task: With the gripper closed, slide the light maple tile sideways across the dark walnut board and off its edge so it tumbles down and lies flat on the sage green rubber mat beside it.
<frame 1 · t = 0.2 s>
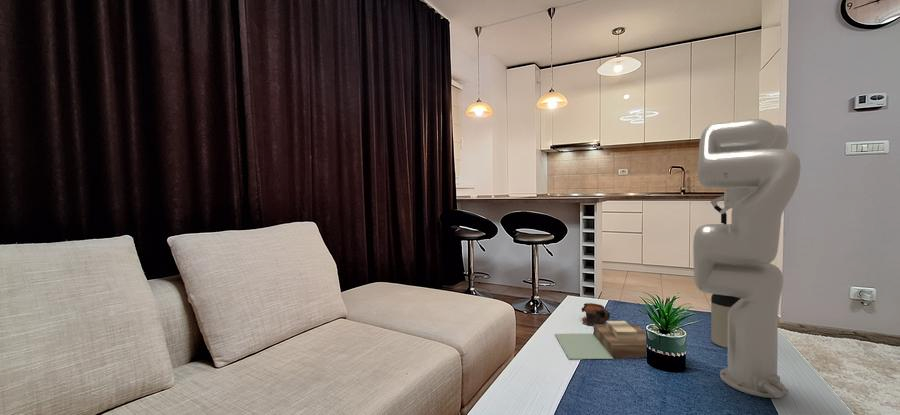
hand: (744, 226, 112), 37 cm above the table, tool pointing down, fingers open, 9 cm apart
walnut board: (624, 345, 112), on the table
beige canister: (727, 344, 111), on the table
rubber mat: (581, 346, 113), on the table
maple tile: (621, 333, 112), point 4 cm above the table, touching walnut board
pottery mug: (595, 323, 132), on the table
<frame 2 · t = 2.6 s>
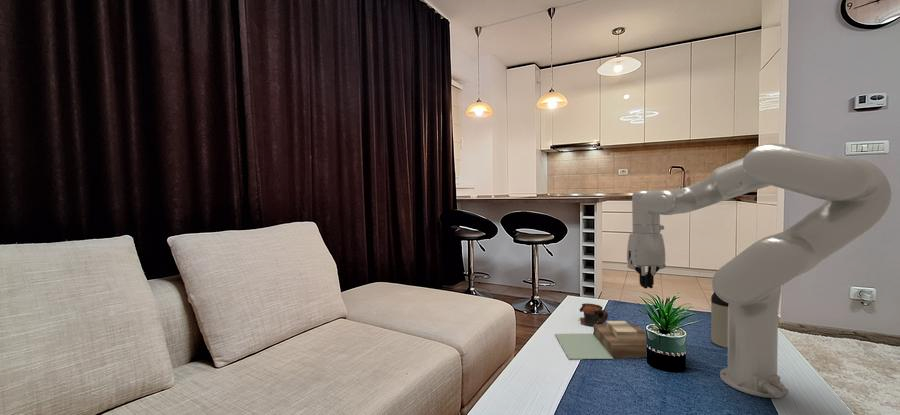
hand: (646, 286, 110), 19 cm above the table, tool pointing down, fingers closed
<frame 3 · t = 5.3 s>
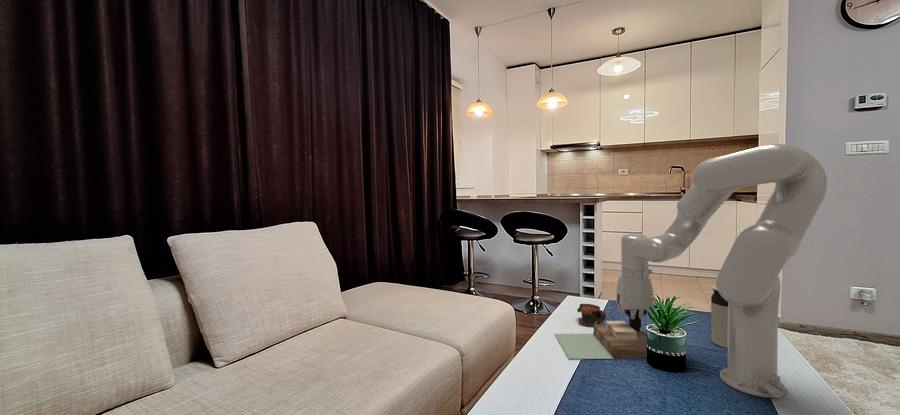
hand: (635, 329, 111), 5 cm above the table, tool pointing down, fingers closed
maple tile: (620, 333, 112), point 4 cm above the table, touching gripper, walnut board
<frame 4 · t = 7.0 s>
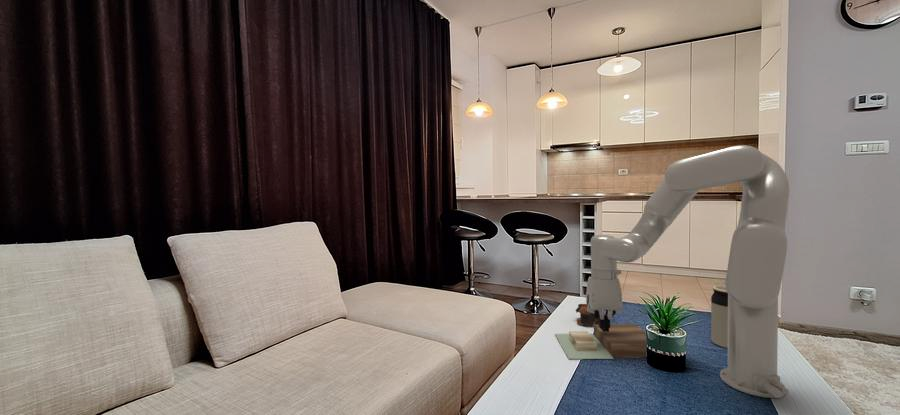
hand: (604, 330, 112), 5 cm above the table, tool pointing down, fingers closed
maple tile: (582, 337, 113), point 3 cm above the table, tilted 180°, touching rubber mat
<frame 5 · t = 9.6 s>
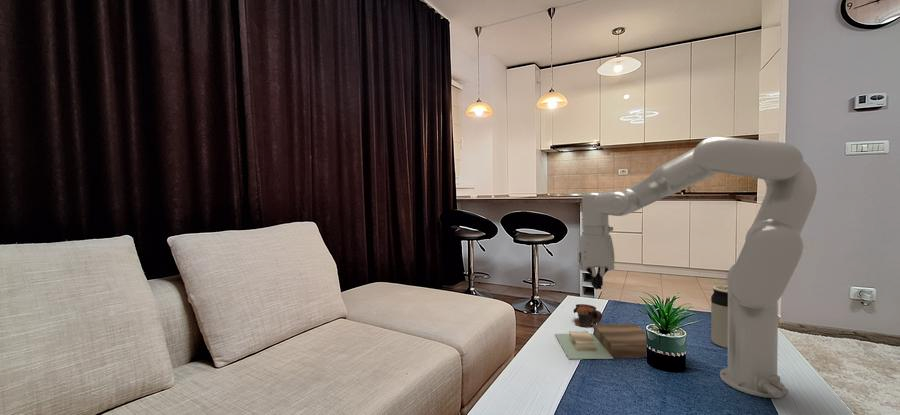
hand: (597, 287, 111), 19 cm above the table, tool pointing down, fingers closed
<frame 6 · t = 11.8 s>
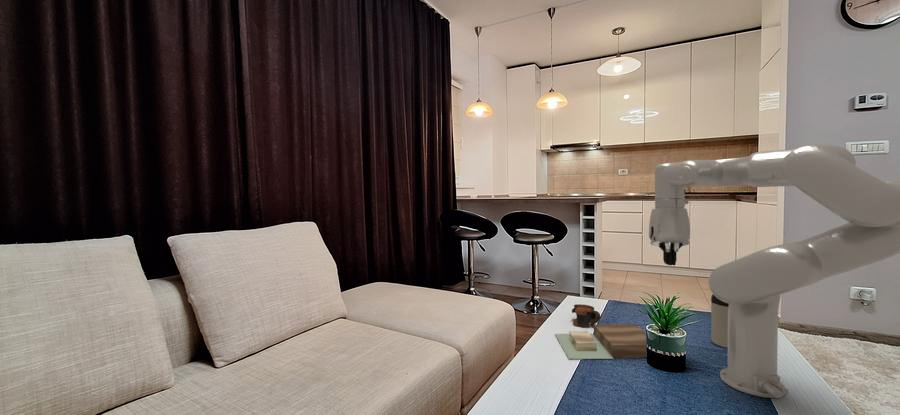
hand: (669, 264, 106), 27 cm above the table, tool pointing down, fingers closed
at the end: maple tile inside the target area on the rubber mat (0.5 cm from its centre), point 2.9 cm above the rubber mat's base; maple tile touching rubber mat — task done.
